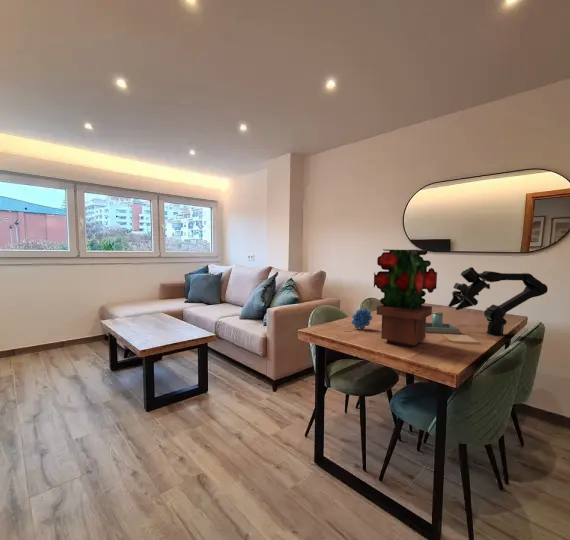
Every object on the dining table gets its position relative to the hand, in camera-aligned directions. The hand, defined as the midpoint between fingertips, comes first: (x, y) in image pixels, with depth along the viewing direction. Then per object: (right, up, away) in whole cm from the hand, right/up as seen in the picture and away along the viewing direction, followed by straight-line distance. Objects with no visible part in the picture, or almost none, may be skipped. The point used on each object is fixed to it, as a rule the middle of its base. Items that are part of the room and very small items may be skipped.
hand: (452, 308), depth 164 cm
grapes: (-49, -13, +6) cm, 51 cm away
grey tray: (-8, -13, +2) cm, 16 cm away
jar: (-8, -13, +2) cm, 15 cm away
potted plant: (-35, -14, -19) cm, 42 cm away
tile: (-4, -14, -14) cm, 20 cm away
